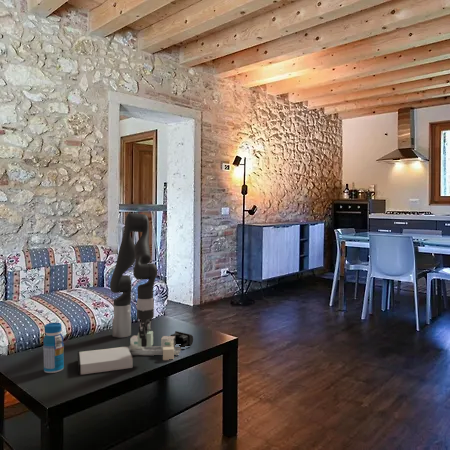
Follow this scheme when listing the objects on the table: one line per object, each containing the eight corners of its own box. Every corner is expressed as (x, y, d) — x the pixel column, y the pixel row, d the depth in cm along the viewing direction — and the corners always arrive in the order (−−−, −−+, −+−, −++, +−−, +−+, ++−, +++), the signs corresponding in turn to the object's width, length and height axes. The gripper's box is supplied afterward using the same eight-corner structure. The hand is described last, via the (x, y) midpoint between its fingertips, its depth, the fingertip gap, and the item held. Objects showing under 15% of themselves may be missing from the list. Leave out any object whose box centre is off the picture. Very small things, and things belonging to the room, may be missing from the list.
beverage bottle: (42, 374, 177) (41, 327, 176) (44, 367, 185) (43, 322, 184) (63, 372, 179) (62, 326, 179) (65, 365, 187) (64, 321, 187)
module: (137, 346, 188) (137, 333, 188) (140, 343, 193) (140, 330, 192) (150, 347, 188) (150, 334, 188) (153, 344, 192) (153, 331, 192)
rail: (124, 354, 201) (124, 338, 200) (129, 349, 208) (129, 334, 207) (178, 356, 199) (178, 340, 199) (180, 351, 206) (180, 335, 206)
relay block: (162, 360, 193) (162, 349, 193) (163, 357, 197) (163, 346, 197) (173, 360, 194) (173, 349, 194) (174, 357, 198) (173, 346, 198)
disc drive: (77, 362, 193) (77, 351, 193) (127, 355, 201) (127, 345, 201) (78, 376, 176) (78, 364, 176) (132, 368, 184) (132, 357, 184)
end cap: (193, 346, 213) (193, 333, 213) (184, 350, 208) (184, 336, 207) (179, 342, 219) (179, 329, 219) (169, 346, 214) (169, 333, 213)
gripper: (141, 303, 197) (141, 339, 198) (132, 311, 183) (132, 349, 183) (157, 304, 196) (157, 339, 197) (149, 311, 182) (149, 350, 183)
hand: (145, 344), depth 190 cm, fingers closed on module, 4 cm apart
